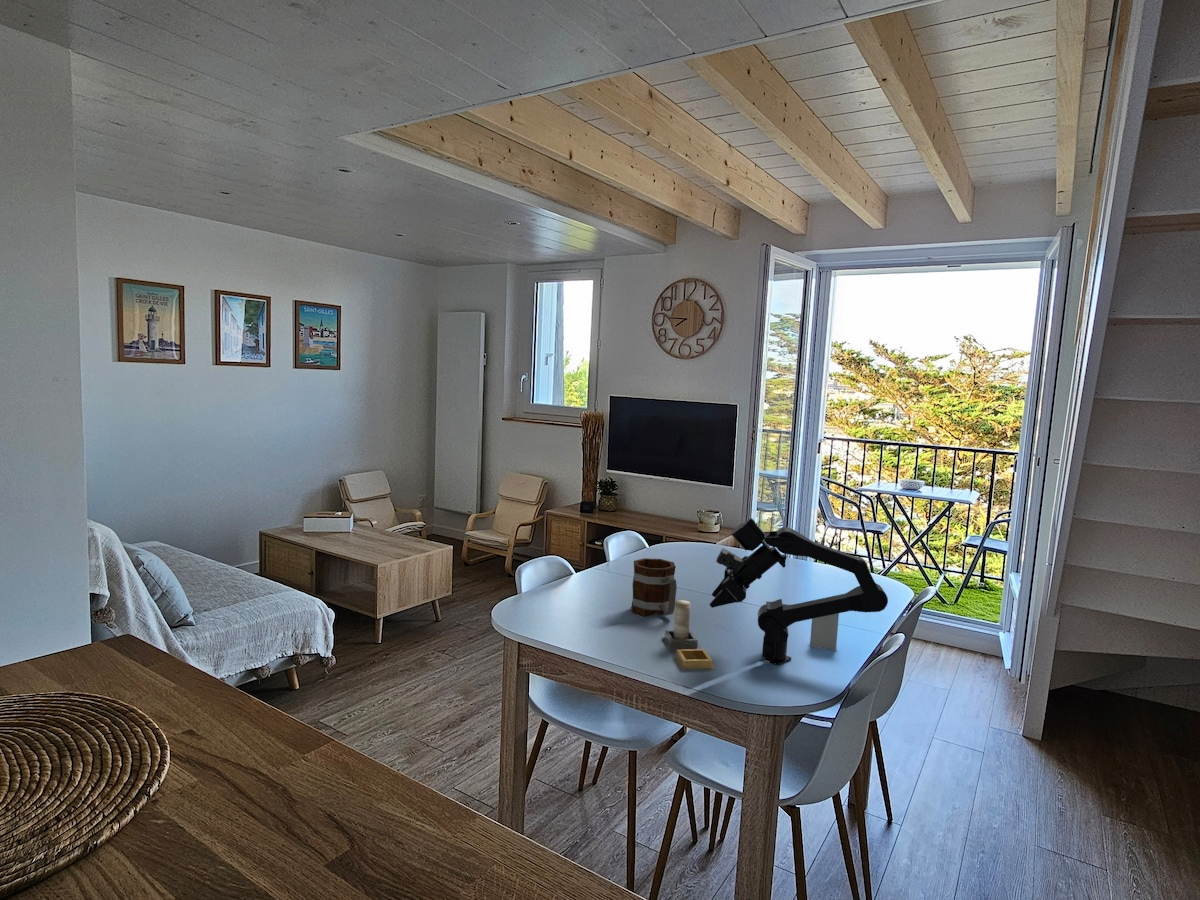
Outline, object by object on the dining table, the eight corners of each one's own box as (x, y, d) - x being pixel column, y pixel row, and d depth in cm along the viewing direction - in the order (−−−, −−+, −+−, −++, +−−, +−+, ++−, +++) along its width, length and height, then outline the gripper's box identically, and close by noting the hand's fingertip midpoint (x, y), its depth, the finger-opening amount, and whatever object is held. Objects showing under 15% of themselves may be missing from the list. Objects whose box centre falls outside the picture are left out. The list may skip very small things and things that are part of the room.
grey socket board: (660, 641, 189) (661, 630, 189) (692, 641, 190) (693, 630, 190) (679, 674, 168) (680, 661, 168) (715, 673, 170) (716, 660, 169)
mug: (622, 606, 218) (624, 559, 216) (660, 602, 223) (663, 556, 222) (651, 627, 200) (654, 576, 198) (692, 623, 205) (695, 573, 204)
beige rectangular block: (835, 650, 188) (838, 614, 187) (809, 646, 191) (812, 611, 190) (836, 646, 192) (839, 611, 191) (810, 641, 194) (813, 607, 193)
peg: (680, 638, 189) (682, 599, 188) (691, 643, 186) (693, 603, 185) (670, 641, 186) (672, 602, 185) (681, 646, 183) (683, 606, 182)
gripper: (737, 533, 189) (694, 568, 193) (735, 548, 171) (687, 587, 175) (765, 564, 188) (721, 599, 192) (765, 582, 170) (717, 621, 174)
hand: (711, 600), depth 183 cm, fingers open, 9 cm apart
